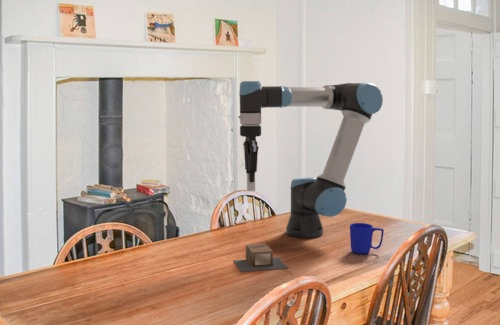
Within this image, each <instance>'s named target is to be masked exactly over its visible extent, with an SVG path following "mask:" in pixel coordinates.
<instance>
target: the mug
mask: <svg viewBox="0 0 500 325" xmlns="http://www.w3.org/2000/svg"><path fill="white" fill-rule="evenodd" d="M375 231H380V232H381V234H380V241H379V244H378V245H377V246H373V245H372V243H373V235H374V234H373V233H374V232H375ZM349 235H350V236H349V238H350V250H351V252H352V253H354V254H357V255H367V254H369V252H371V249H372V250H377V249H380V247H381V246H382V244H383V238H384V229H383V228H381V227H380V228H379V227H374V226H373V225H372V224H370V223H365V222H355V223H351V224H350V225H349Z"/></svg>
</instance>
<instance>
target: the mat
mask: <svg viewBox="0 0 500 325" xmlns="http://www.w3.org/2000/svg"><path fill="white" fill-rule="evenodd" d="M233 262H234V263H235V265H236V267H237V268H238V269H239V271H240V272H241V273H245V272H260V271H273V270H275V271H276V270H286V269H289V267H288V266H287V265H286V263H284V261H283V260H282V259H281V258H280V257H278V256H277V257H273V266H263V267H252V266H251V265H250V263H249V262H248V261H247V259H246V258H245V259H233Z"/></svg>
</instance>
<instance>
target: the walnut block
mask: <svg viewBox="0 0 500 325" xmlns="http://www.w3.org/2000/svg"><path fill="white" fill-rule="evenodd" d="M273 258H274V251H273V249H271V248H270V246H269V245H267V243H251V244H245V259H247V261H248V262H249V263H250V265H251V266H252V267H263V266H273Z"/></svg>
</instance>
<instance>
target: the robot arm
mask: <svg viewBox="0 0 500 325" xmlns="http://www.w3.org/2000/svg"><path fill="white" fill-rule="evenodd" d="M382 105H383V94H382V91H381V90H380V88H379V87H378V86H377V85H375V84H374V83H372V82H371V83H370V82H357V83H356V82H355V83H354V82H353V83H352V82H347V83H339V84H331V85H329V84H328V85H326V84H325V85H323V86H322V87H314V86H313V87H312V86H311V87H306V86H305V87H303V86H302V87H301V86H300V87H299V86H297V87H296V86H282V85H280V86H278V85H276V86H275V85H274V86H267V85H266V86H262V82H261V81H259V80H247V81H246V80H245V81H244V80H243V81H241V82H240V84H239V115H238V116H237V118H238V119H239V123H240V126H239V135H240V137H245V140H244V142H243V144H242V145H243V152H244V153H243V154H244V170H245V173H246V192H255V191H256V173H257V172H258V154H259V145H258V141H257V139H256V138H257V137H260V136H261V135H262V126H261V124H262V109H264V108H265V109H266V108H280V109H281V108H287V107H311V108H312V107H314V108H315V107H321V108H322V109H324V110H335V111H340V112H341V114H342V120H341V123H340V125H339V129H338V131H337V134H336V137H335V140H334V142H333V144H332V148H331V150H330V152H329V155H328V158H327V161H326V164H325V166H324V169H323V171H322V174H319V175H317V177H301V178H293V179H292V180H291V182H290V188H289V189H290V215H289V218H288V222H287V224H286V228H285V234H287V235H288V236H291V237H294V238H303V239H309V238H311V239H312V238H317V237H321V236H323V235H324V227H323V223H322V220H321V218H320V216H322V217H330V218H332V217H333V218H334V217H335V216H337V215H340V214H341V213H342V212H343V211H344V209H345V208H346V205H347V200H348V197H346V196H347V194H346V192H345V190H346V184H345V178H346V176H347V173H348V170H349V167H350V166H351V165H350V164H351V162H352V160H353V158H354V157H353V156H354V153H355V151H356V149H357V146H358V143H359V140H360V137H361V136H362V131H363V129H364V126H365V124H367V123H369V122H370V121H371V119H372V115H374V114H376V113H378V112H380V110H381V109H382Z"/></svg>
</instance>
